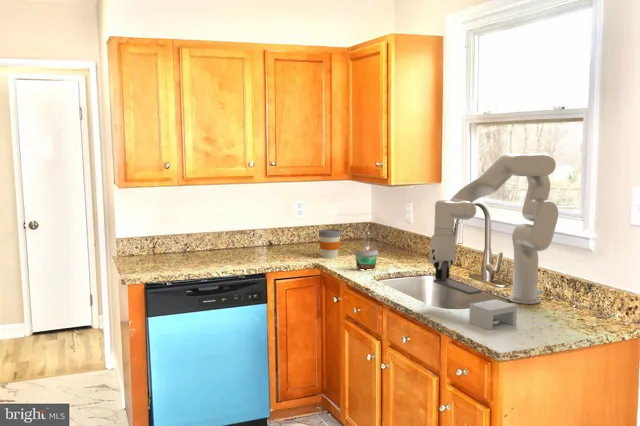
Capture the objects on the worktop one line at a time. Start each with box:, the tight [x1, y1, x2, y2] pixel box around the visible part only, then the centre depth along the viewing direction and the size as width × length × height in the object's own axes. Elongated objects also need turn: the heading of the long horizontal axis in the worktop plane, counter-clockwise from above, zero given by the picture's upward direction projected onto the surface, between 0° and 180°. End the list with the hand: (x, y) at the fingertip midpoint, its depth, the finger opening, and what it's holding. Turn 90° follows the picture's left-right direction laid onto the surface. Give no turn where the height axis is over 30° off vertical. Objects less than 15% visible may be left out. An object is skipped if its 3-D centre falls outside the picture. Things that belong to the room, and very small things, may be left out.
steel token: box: [493, 317, 501, 327], centre depth 225 cm, size 5×5×2 cm
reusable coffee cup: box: [318, 228, 342, 259], centre depth 352 cm, size 13×12×15 cm
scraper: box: [433, 261, 482, 296], centre depth 239 cm, size 20×6×8 cm, turn 30°
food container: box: [353, 249, 379, 270], centre depth 317 cm, size 12×6×10 cm, turn 92°
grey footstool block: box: [468, 299, 518, 331], centre depth 224 cm, size 13×10×7 cm
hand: (442, 277), depth 247 cm, fingers closed on scraper, 3 cm apart
